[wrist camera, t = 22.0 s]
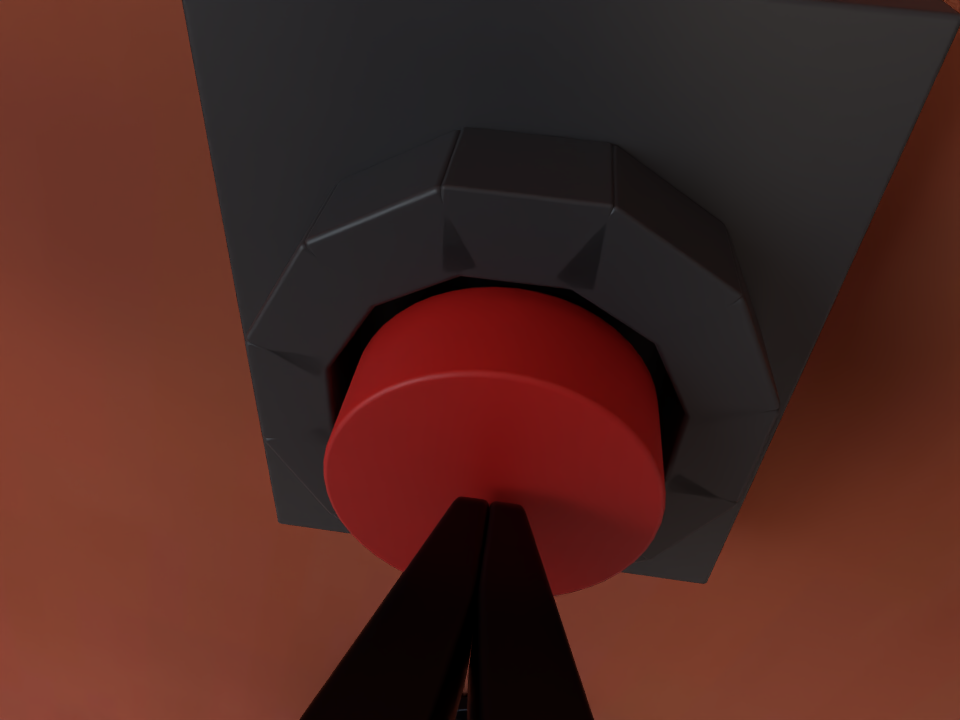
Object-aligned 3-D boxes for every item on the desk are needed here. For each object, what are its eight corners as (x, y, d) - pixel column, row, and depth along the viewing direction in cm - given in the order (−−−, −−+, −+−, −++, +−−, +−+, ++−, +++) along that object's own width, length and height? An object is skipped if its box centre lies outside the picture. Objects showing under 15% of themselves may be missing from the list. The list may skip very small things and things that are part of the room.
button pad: (698, 515, 17) (717, 664, 14) (303, 461, 17) (248, 595, 14) (915, -26, 9) (1037, 68, 7) (226, -91, 10) (90, -28, 7)
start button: (626, 523, 12) (628, 619, 11) (361, 487, 12) (333, 577, 11) (691, 306, 9) (707, 401, 8) (347, 264, 10) (306, 350, 8)
